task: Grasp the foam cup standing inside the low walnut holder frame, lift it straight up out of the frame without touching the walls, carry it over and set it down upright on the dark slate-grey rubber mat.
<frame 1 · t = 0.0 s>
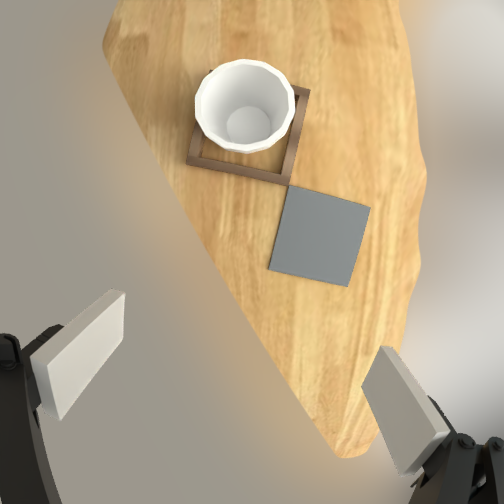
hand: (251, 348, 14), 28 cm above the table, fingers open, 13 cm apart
mat: (320, 237, 41), on the table
foam cup: (249, 127, 38), on the table
holder: (248, 127, 37), on the table
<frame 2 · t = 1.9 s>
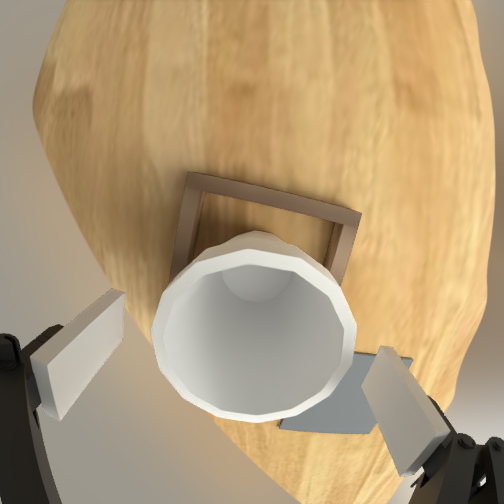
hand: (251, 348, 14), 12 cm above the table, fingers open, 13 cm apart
mat: (345, 396, 29), on the table
foam cup: (256, 266, 25), on the table
holder: (256, 267, 25), on the table
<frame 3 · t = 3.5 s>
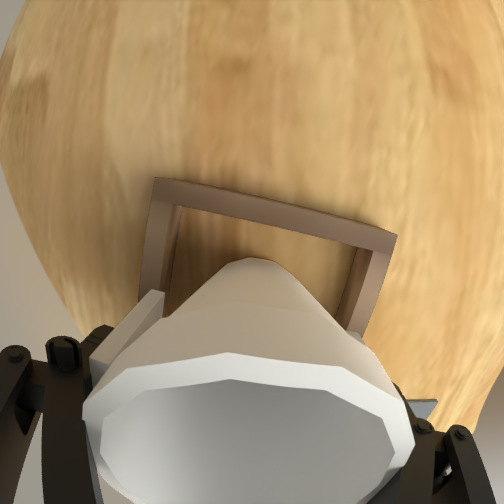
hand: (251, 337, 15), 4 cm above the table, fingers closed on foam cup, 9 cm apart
mat: (358, 444, 22), on the table
foam cup: (253, 304, 19), on the table, touching gripper
holder: (253, 305, 19), on the table
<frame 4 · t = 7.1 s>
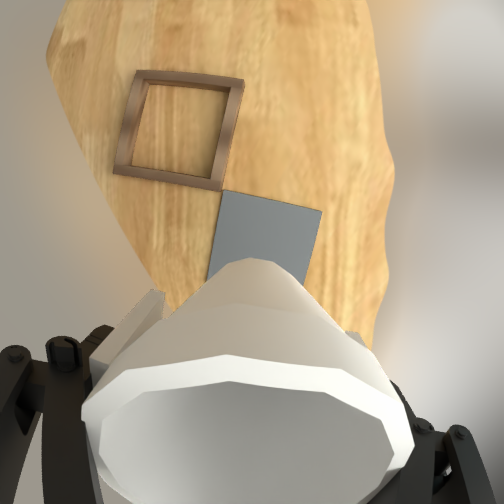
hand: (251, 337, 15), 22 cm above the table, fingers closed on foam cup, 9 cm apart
mat: (262, 248, 36), on the table
foam cup: (252, 304, 19), point 18 cm above the table, touching gripper
holder: (179, 128, 33), on the table
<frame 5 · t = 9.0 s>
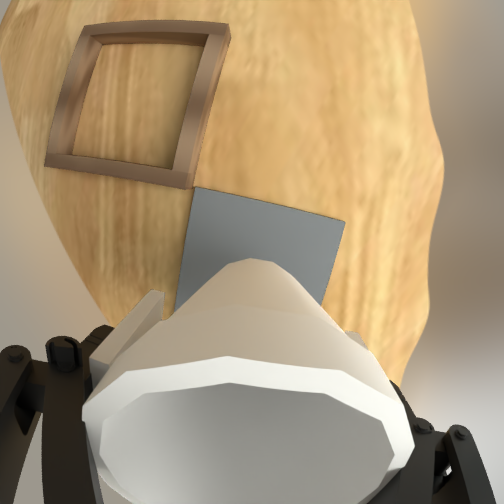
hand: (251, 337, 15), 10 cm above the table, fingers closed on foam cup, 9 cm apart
mat: (254, 275, 24), on the table
foam cup: (252, 305, 19), point 5 cm above the table, touching gripper
holder: (135, 98, 21), on the table
when the fingers open (6 cm above the table, at t = 10.6 s): foam cup drops 1 cm, resting on mat.
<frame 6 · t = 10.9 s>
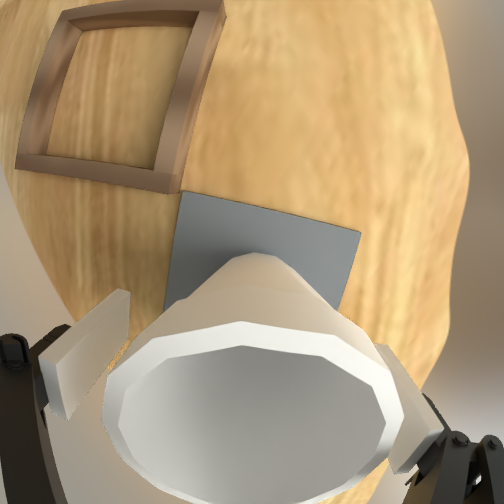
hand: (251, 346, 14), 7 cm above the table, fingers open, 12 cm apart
mat: (253, 295, 20), on the table
foam cup: (255, 296, 20), resting on mat
holder: (115, 88, 17), on the table
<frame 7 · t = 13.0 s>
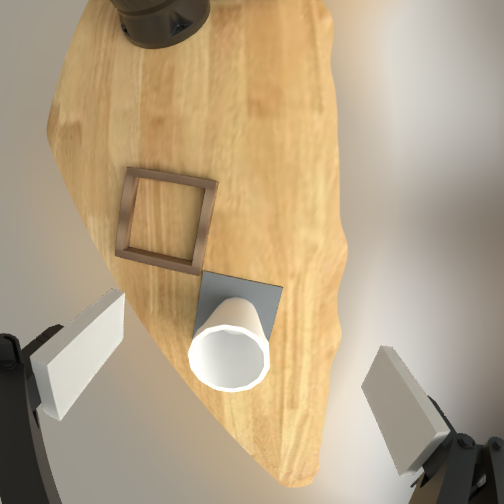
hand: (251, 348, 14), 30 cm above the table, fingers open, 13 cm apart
mat: (235, 315, 45), on the table
foam cup: (236, 315, 45), resting on mat
holder: (166, 218, 43), on the table
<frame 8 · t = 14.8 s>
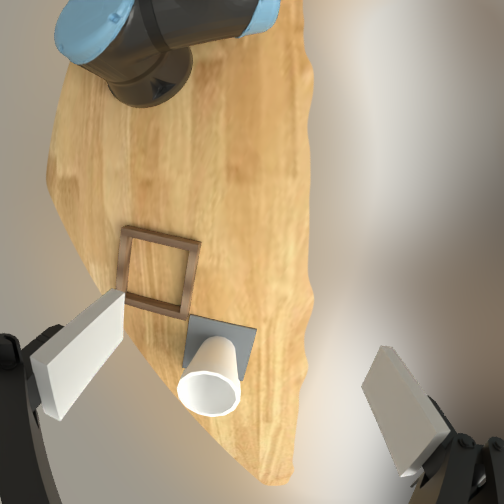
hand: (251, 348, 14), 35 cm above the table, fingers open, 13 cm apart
mat: (217, 349, 53), on the table
foam cup: (218, 349, 52), resting on mat
holder: (157, 270, 49), on the table
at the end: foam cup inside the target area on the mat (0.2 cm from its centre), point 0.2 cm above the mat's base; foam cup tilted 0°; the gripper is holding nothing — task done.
